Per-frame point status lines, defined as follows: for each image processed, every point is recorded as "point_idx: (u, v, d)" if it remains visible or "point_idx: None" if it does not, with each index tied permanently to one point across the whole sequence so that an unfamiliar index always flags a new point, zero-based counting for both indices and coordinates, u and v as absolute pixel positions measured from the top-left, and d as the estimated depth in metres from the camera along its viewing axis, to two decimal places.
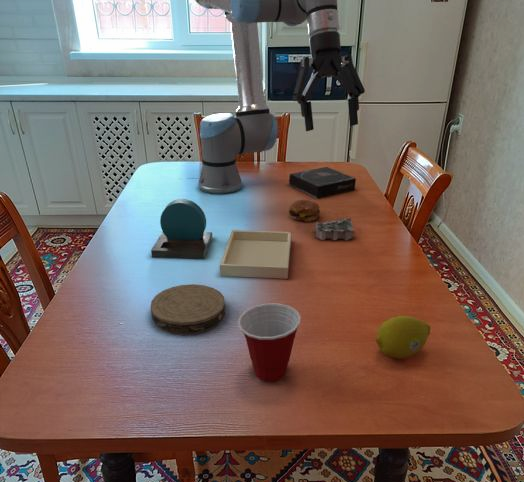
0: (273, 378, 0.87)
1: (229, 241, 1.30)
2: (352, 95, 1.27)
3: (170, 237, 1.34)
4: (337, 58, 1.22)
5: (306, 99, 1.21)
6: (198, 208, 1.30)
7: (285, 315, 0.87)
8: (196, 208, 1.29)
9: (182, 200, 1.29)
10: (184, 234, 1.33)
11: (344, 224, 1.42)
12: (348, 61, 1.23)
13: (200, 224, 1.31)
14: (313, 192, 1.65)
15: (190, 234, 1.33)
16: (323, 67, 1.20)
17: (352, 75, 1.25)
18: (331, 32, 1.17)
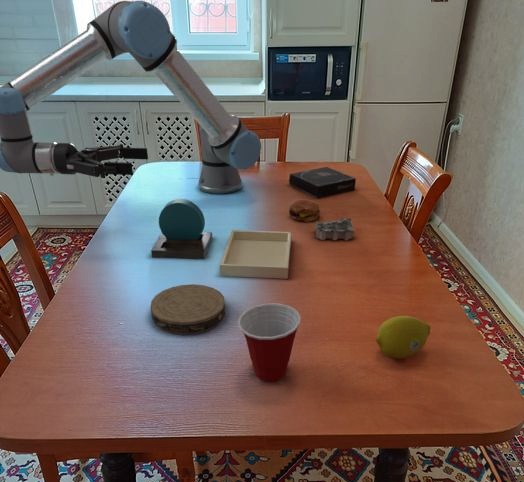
0: (273, 378, 0.87)
1: (229, 241, 1.30)
2: None
3: (170, 238, 1.34)
4: None
5: (122, 157, 1.31)
6: (195, 207, 1.30)
7: (285, 315, 0.87)
8: (193, 207, 1.29)
9: (179, 200, 1.29)
10: (183, 234, 1.33)
11: (344, 224, 1.42)
12: None
13: (198, 223, 1.30)
14: (313, 192, 1.65)
15: (189, 233, 1.33)
16: None
17: None
18: None
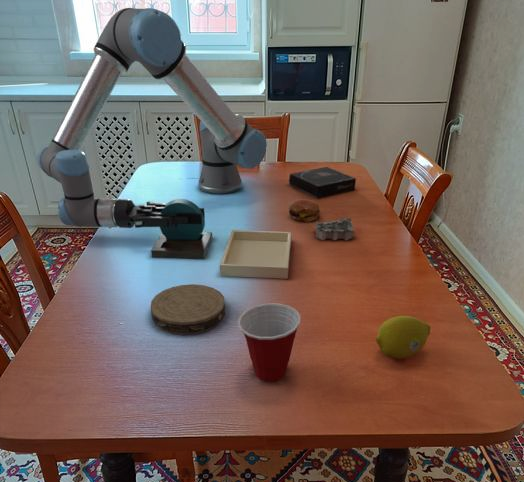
0: (273, 378, 0.87)
1: (229, 241, 1.30)
2: None
3: (170, 238, 1.34)
4: None
5: None
6: (195, 207, 1.30)
7: (285, 315, 0.87)
8: (193, 207, 1.29)
9: (179, 200, 1.29)
10: (183, 234, 1.33)
11: (344, 224, 1.42)
12: None
13: None
14: (313, 192, 1.65)
15: (189, 233, 1.33)
16: None
17: None
18: None
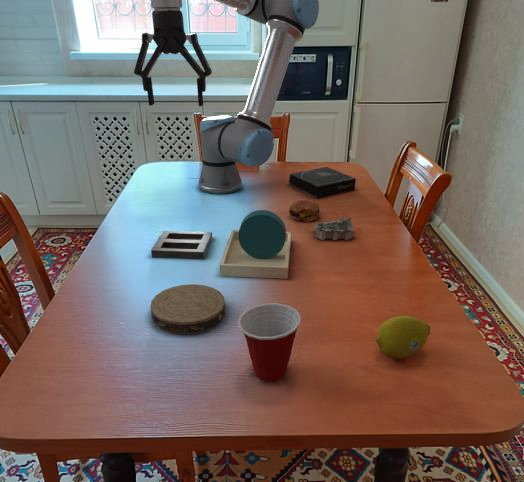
0: (273, 378, 0.87)
1: (229, 241, 1.30)
2: None
3: (245, 247, 1.25)
4: (178, 37, 1.22)
5: (143, 75, 1.27)
6: (282, 224, 1.22)
7: (285, 315, 0.87)
8: (281, 223, 1.21)
9: (268, 212, 1.21)
10: (260, 247, 1.25)
11: (344, 224, 1.42)
12: (191, 41, 1.22)
13: (280, 240, 1.23)
14: (313, 192, 1.65)
15: (267, 248, 1.25)
16: (160, 46, 1.23)
17: (197, 55, 1.24)
18: (163, 13, 1.17)
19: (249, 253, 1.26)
